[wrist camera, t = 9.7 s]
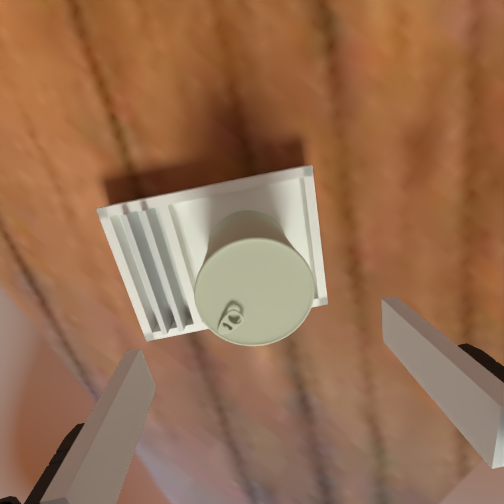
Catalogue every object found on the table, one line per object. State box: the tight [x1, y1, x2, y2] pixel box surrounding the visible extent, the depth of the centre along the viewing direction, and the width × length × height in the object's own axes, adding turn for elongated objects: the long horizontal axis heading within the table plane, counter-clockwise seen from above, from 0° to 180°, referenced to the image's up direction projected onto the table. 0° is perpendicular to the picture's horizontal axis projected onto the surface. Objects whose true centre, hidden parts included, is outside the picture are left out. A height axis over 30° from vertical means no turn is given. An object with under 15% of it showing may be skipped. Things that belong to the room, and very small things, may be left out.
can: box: [194, 210, 315, 346], centre depth 25 cm, size 9×9×12 cm
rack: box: [96, 165, 328, 341], centre depth 30 cm, size 16×22×4 cm
